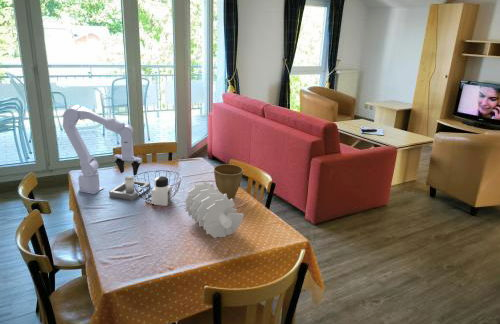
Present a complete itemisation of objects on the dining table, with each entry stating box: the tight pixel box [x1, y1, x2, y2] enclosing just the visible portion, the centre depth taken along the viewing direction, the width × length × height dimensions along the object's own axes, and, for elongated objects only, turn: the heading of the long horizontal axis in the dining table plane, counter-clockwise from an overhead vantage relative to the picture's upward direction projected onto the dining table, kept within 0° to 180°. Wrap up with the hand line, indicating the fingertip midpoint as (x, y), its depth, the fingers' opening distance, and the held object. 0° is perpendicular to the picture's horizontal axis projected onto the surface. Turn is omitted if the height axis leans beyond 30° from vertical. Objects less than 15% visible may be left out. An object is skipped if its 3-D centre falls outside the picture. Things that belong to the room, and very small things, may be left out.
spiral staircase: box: [184, 181, 245, 239], centre depth 164 cm, size 18×18×25 cm
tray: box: [108, 179, 151, 202], centre depth 195 cm, size 13×17×3 cm
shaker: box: [124, 175, 135, 193], centre depth 193 cm, size 4×4×8 cm
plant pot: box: [213, 163, 244, 200], centre depth 193 cm, size 15×15×16 cm
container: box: [150, 175, 172, 207], centre depth 185 cm, size 8×8×13 cm
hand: (128, 173), depth 194 cm, fingers open, 7 cm apart
